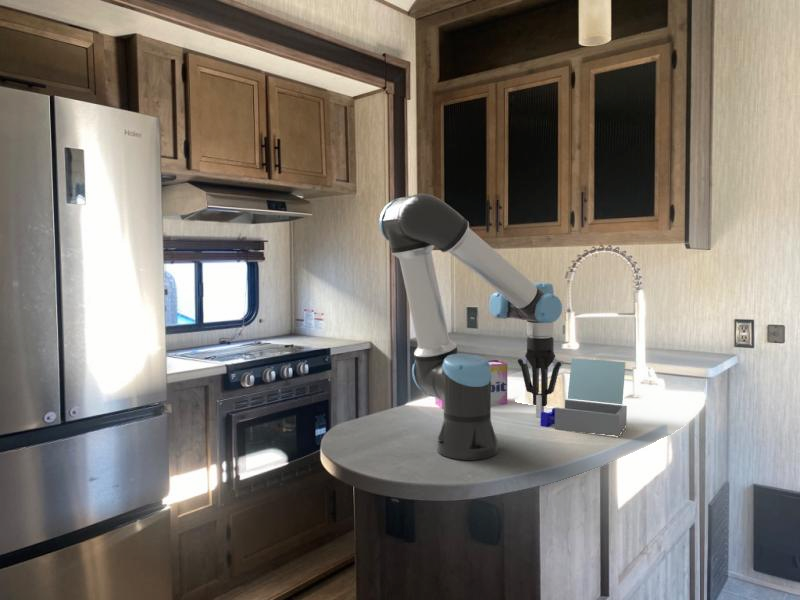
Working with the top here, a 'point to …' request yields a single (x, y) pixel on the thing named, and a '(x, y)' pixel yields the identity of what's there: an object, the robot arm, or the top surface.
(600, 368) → the cover
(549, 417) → the cable holder
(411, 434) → the top surface
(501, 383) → the gum box
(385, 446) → the top surface
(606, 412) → the grey open box
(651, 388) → the top surface
